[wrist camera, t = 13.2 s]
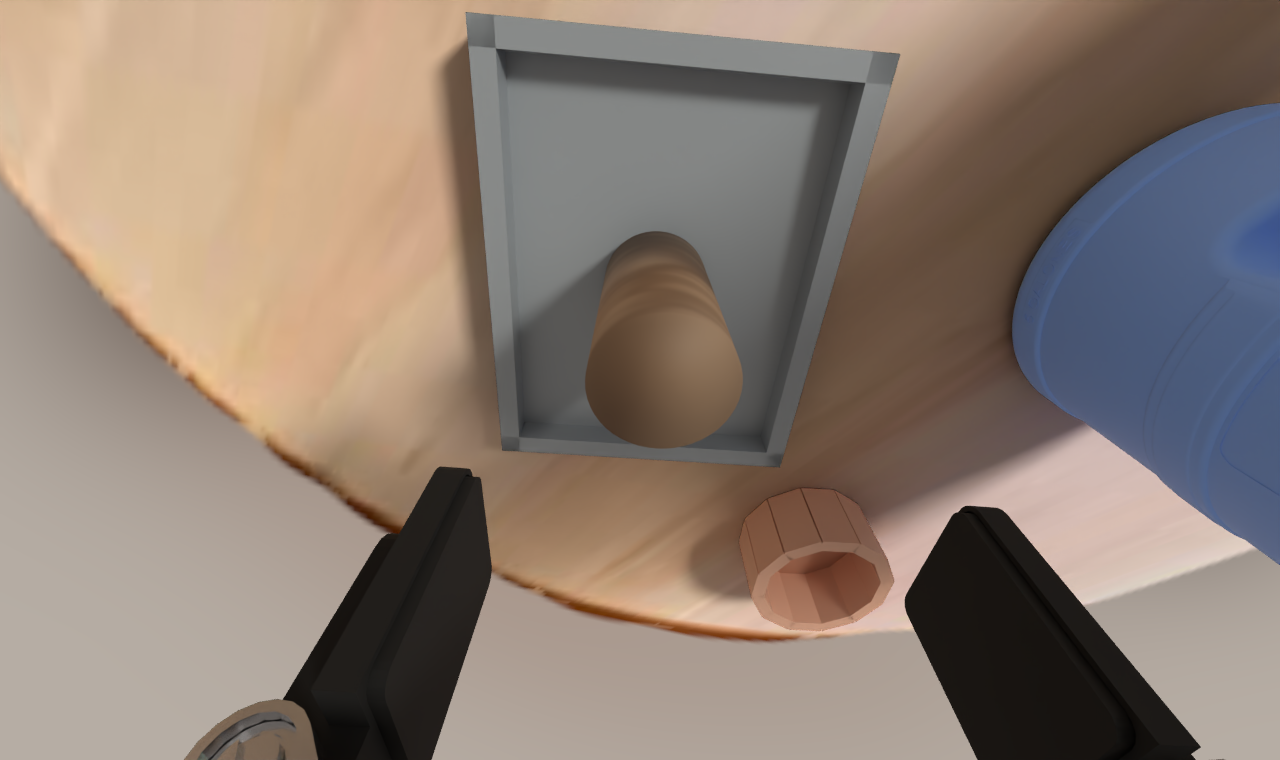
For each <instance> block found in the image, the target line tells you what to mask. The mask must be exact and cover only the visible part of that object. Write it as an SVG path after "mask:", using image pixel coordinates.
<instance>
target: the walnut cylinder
mask: <svg viewBox="0 0 1280 760" xmlns="http://www.w3.org/2000/svg"><path fill="white" fill-rule="evenodd" d="M742 385H743V373H742V367H741V363H740V360H739V357H738V355H737V352H736V349H735V347H734V344H733V341H732V339H731V336H730V333H729V331H728V328H727V325H726V323H725V320H724V318H723V315H722V312H721V310H720V307H719V304H718V302H717V299H716V296H715V294H714V291H713V288H712V286H711V283H710V280H709V278H708V275H707V273H706V270H705V267H704V265H703V262H702V260H701V258H700V256H699V254H698V253H697V251H696V250H695V249H694V248H693V246H692V245H691V244H689V243H688V242H687V241H686V240H684V239H683V238H681V237H679V236H677V235H674V234H671V233H668V232H662V231H651V232H644V233H641V234H638V235H635V236H633V237H631V238H629V239H628V240H626V241H625V242H624V243H622V244H621V245H620V246H619V247H618V248H617V249H616V251H615V252H614V253H613V255H612V257H611V258H610V260H609V263H608V265H607V269H606V273H605V278H604V283H603V288H602V293H601V298H600V303H599V308H598V313H597V318H596V323H595V328H594V333H593V339H592V344H591V349H590V354H589V359H588V364H587V369H586V375H585V391H586V395H587V400H588V402H589V405H590V407H591V409H592V411H593V413H594V415H595V416H596V417H597V419H598V420H599V421H600V423H601V424H602V425H603V426H604V427H605V428H606V429H608V430H609V431H610V432H611V433H613V434H614V435H616V436H617V437H619V438H621V439H623V440H625V441H627V442H629V443H632V444H635V445H638V446H643V447H647V448H656V449H667V448H677V447H682V446H686V445H689V444H692V443H695V442H697V441H700V440H702V439H704V438H706V437H707V436H709V435H711V434H712V433H713V432H715V431H716V430H718V429H719V428H720V427H721V426H722V425H723V424H724V423H725V422H726V421H727V420H728V418H729V417H730V416H731V414H732V413H733V411H734V410H735V408H736V406H737V404H738V401H739V399H740V395H741V392H742Z"/></svg>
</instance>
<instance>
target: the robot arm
mask: <svg viewBox="0 0 1280 760" xmlns="http://www.w3.org/2000/svg"><path fill="white" fill-rule="evenodd" d="M491 571H492V565H491V557H490V549H489V541H488V533H487V525H486V517H485V509H484V500H483V492H482V484H481V479H480V477H473V476H472V472H471V470H470V469H465V468H451V467H439V468H437V469H436V471H435V472H434V474H433V476H432V477H431V479H430V481H429V483H428V484H427V486H426V488H425V490H424V491H423V493H422V495H421V497H420V499H419V500H418V502H417V504H416V506H415V507H414V509H413V511H412V513H411V514H410V516H409V518H408V520H407V521H406V523H405V525H404V527H403V528H402V530H401V532H400V534H393V533H391V534H387V535H385V536H384V537H383V538H381V540H380V541H379V543H378V544H377V545H376V547H375V548H374V550H373V552H372V553H371V555H370V557H369V558H368V560H367V562H366V563H365V565H364V566H363V568H362V570H361V571H360V573H359V575H358V576H357V578H356V580H355V581H354V583H353V585H352V586H351V588H350V590H349V591H348V593H347V595H346V596H345V598H344V600H343V602H342V603H341V604H340V606H339V608H338V609H337V611H336V613H335V614H334V616H333V618H332V619H331V621H330V623H329V624H328V626H327V628H326V629H325V631H324V632H323V634H322V636H321V638H320V639H319V641H318V643H317V644H316V646H315V647H314V649H313V651H312V652H311V654H310V656H309V657H308V660H307V661H306V662H305V664H304V666H303V667H302V669H301V670H300V672H299V674H298V675H297V677H296V679H295V680H294V682H293V684H292V685H291V687H290V689H289V690H288V692H287V694H286V696H285V697H284V698H283V700H280V699H274V700H268V701H262V702H258V703H255V704H253V705H250V706H248V707H245V708H243V709H241V710H238V711H237V712H235V713H233V714H232V715H230V716H229V717H227V718H226V719H224V720H223V721H221V722H220V723H218V724H217V725H216V726H215V727H214V728H212V729H211V730H210V731H209V732H208V733H207V734H206V735H205V736H204V737H202V738H201V739H200V740H199V741H198V742H197V743H196V745H195V746H194V747H193V748H192V750H191V751H190V752H189V754H188V755H187V756H186V758H185V759H184V760H431V759H432V756H433V753H434V750H435V747H436V744H437V741H438V738H439V735H440V732H441V729H442V726H443V723H444V720H445V717H446V714H447V711H448V708H449V705H450V702H451V699H452V696H453V693H454V690H455V687H456V684H457V680H458V678H459V674H460V672H461V668H462V665H463V662H464V659H465V656H466V653H467V650H468V647H469V644H470V641H471V638H472V635H473V632H474V629H475V626H476V623H477V620H478V617H479V614H480V611H481V608H482V605H483V602H484V599H485V596H486V593H487V590H488V587H489V583H490V579H491ZM905 609H906V612H907V615H908V617H909V619H910V621H911V623H912V625H913V627H914V630H915V632H916V634H917V636H918V638H919V639H920V642H921V644H922V646H923V648H924V650H925V652H926V654H927V656H928V658H929V660H930V663H931V665H932V666H933V669H934V671H935V673H936V675H937V677H938V679H939V681H940V683H941V685H942V687H943V689H944V691H945V694H946V696H947V698H948V699H949V702H950V704H951V706H952V708H953V710H954V712H955V714H956V716H957V718H958V720H959V722H960V724H961V727H962V729H963V731H964V733H965V735H966V737H967V739H968V741H969V743H970V745H971V747H972V749H973V751H974V753H975V755H976V758H977V759H978V760H1195V758H1194V757H1193V756H1192V755H1191V754H1192V753H1193V752H1195V751H1196V750H1197V749H1199V748H1200V745H1199V744H1198V743H1197V742H1196V741H1195V739H1194V738H1193V737H1192V736H1191V735H1190V733H1189V732H1188V731H1187V730H1186V729H1185V727H1184V726H1183V725H1182V724H1181V723H1180V721H1179V720H1178V719H1177V718H1176V717H1175V715H1174V714H1173V713H1172V712H1171V711H1170V710H1169V708H1168V707H1167V706H1166V705H1165V703H1164V702H1163V701H1162V700H1161V699H1160V697H1159V696H1158V695H1157V694H1156V693H1155V692H1154V690H1153V689H1152V688H1151V687H1150V685H1149V684H1148V683H1147V682H1146V681H1145V679H1144V678H1143V677H1142V676H1141V675H1140V673H1139V672H1138V671H1137V670H1136V669H1135V667H1134V666H1133V665H1132V664H1131V663H1130V661H1129V660H1128V659H1127V658H1126V657H1125V655H1124V654H1123V653H1122V652H1121V651H1120V649H1119V648H1118V647H1117V646H1116V645H1115V643H1114V642H1113V641H1112V640H1111V639H1110V637H1109V636H1108V635H1107V634H1106V633H1105V632H1104V630H1103V629H1102V628H1101V627H1100V625H1099V624H1098V623H1097V622H1096V621H1095V619H1094V618H1093V617H1092V616H1091V615H1090V613H1089V612H1088V611H1087V610H1086V609H1085V607H1084V606H1083V605H1082V604H1081V603H1080V601H1079V600H1078V599H1077V598H1076V597H1075V595H1074V594H1073V593H1072V592H1071V591H1070V589H1069V588H1068V587H1067V586H1066V585H1065V583H1064V582H1063V581H1062V580H1061V579H1060V577H1059V576H1058V575H1057V574H1056V573H1055V571H1054V570H1053V569H1052V568H1051V567H1050V565H1049V564H1048V563H1047V562H1046V561H1045V559H1044V558H1043V557H1042V556H1041V555H1040V553H1039V552H1038V551H1037V550H1036V549H1035V547H1034V546H1033V545H1032V544H1031V543H1030V541H1029V540H1028V539H1027V538H1026V537H1025V535H1024V534H1023V533H1022V532H1021V531H1020V529H1019V528H1018V527H1017V526H1016V525H1015V523H1014V522H1013V521H1012V520H1011V519H1010V517H1009V516H1008V515H1007V514H1006V513H1005V512H1004V511H1003V510H1001V509H999V508H991V507H978V506H965V507H963V508H961V510H960V511H959V512H958V513H955V514H953V516H952V517H951V518H950V520H949V522H948V524H947V525H946V527H945V529H944V530H943V532H942V534H941V536H940V537H939V539H938V541H937V542H936V544H935V546H934V548H933V549H932V551H931V553H930V555H929V556H928V558H927V560H926V561H925V563H924V565H923V567H922V568H921V570H920V572H919V573H918V575H917V577H916V579H915V580H914V582H913V584H912V586H911V587H910V589H909V591H908V592H907V594H906V597H905ZM1218 760H1224V759H1218Z"/></svg>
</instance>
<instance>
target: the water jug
mask: <svg viewBox="0 0 1280 760" xmlns="http://www.w3.org/2000/svg"><path fill="white" fill-rule="evenodd" d="M1012 339H1013V346H1014V351H1015V355H1016V358H1017V361H1018V364H1019V366H1020V368H1021V370H1022V372H1023V374H1024V375H1025V377H1026V378H1027V380H1028V381H1029V382H1030V383H1031V385H1032V386H1033V387H1034V388H1035V389H1036V390H1037V391H1038V392H1039V393H1041V394H1042V395H1043V396H1044V397H1046V398H1047V399H1048V400H1050V401H1051V402H1052V403H1054V404H1055V405H1057V406H1058V407H1059V408H1061V409H1062V410H1063V411H1065V412H1066V413H1068V414H1070V415H1072V416H1073V417H1075V418H1078V419H1080V420H1082V421H1084V422H1085V423H1086V424H1088V425H1089V426H1090V427H1092V428H1093V429H1094V430H1096V431H1097V432H1099V433H1100V434H1101V435H1103V436H1104V437H1105V438H1107V439H1108V440H1110V441H1111V442H1112V443H1114V444H1115V445H1116V446H1118V447H1119V448H1120V449H1122V450H1123V451H1125V452H1126V453H1127V454H1129V455H1130V456H1131V457H1133V458H1134V459H1135V460H1137V461H1138V462H1140V463H1141V464H1142V465H1144V466H1145V467H1146V468H1148V469H1149V470H1151V471H1152V472H1153V473H1155V474H1156V475H1157V476H1158V477H1159V478H1160V479H1161V481H1162V482H1163V483H1164V484H1165V485H1167V486H1168V487H1169V488H1170V489H1171V490H1173V491H1174V492H1175V493H1176V494H1177V495H1178V496H1179V497H1181V498H1182V499H1183V500H1185V501H1186V502H1187V503H1189V504H1190V505H1192V506H1193V507H1194V508H1196V509H1197V510H1198V511H1200V512H1201V513H1202V514H1204V515H1205V516H1206V517H1208V518H1209V519H1210V520H1212V521H1213V522H1215V523H1216V524H1218V525H1220V526H1222V527H1223V528H1224V529H1226V530H1227V531H1229V532H1231V533H1232V534H1234V535H1236V536H1238V537H1240V538H1242V539H1245V540H1246V541H1248V542H1249V543H1250V544H1252V545H1253V546H1254V547H1256V548H1257V549H1258V550H1260V551H1261V552H1263V553H1264V554H1265V555H1267V556H1268V557H1270V558H1271V559H1272V560H1274V561H1275V562H1276V563H1278V564H1279V565H1280V103H1273V104H1264V105H1257V106H1252V107H1247V108H1242V109H1238V110H1234V111H1230V112H1226V113H1223V114H1220V115H1216V116H1213V117H1210V118H1208V119H1205V120H1202V121H1199V122H1197V123H1194V124H1192V125H1190V126H1187V127H1185V128H1183V129H1180V130H1178V131H1176V132H1174V133H1172V134H1170V135H1168V136H1166V137H1164V138H1162V139H1160V140H1159V141H1157V142H1155V143H1153V144H1151V145H1150V146H1148V147H1146V148H1145V149H1143V150H1141V151H1140V152H1138V153H1137V154H1135V155H1134V156H1132V157H1131V158H1129V159H1128V160H1126V161H1125V162H1123V163H1122V164H1121V165H1119V166H1118V167H1116V168H1115V169H1114V170H1112V171H1111V172H1110V173H1109V174H1107V175H1106V176H1105V177H1104V178H1102V179H1101V180H1100V181H1099V182H1098V183H1096V184H1095V185H1094V186H1093V187H1092V188H1091V189H1090V190H1089V191H1088V192H1086V193H1085V194H1084V195H1083V196H1082V197H1081V198H1080V199H1079V200H1078V201H1077V202H1076V203H1075V204H1074V205H1073V206H1072V207H1071V209H1070V210H1069V211H1068V212H1067V213H1066V214H1065V215H1064V216H1063V217H1062V219H1061V220H1060V221H1059V222H1058V223H1057V225H1056V226H1055V227H1054V229H1053V230H1052V231H1051V232H1050V234H1049V235H1048V237H1047V238H1046V239H1045V241H1044V242H1043V244H1042V245H1041V247H1040V248H1039V250H1038V252H1037V253H1036V255H1035V257H1034V259H1033V260H1032V262H1031V264H1030V266H1029V268H1028V270H1027V272H1026V274H1025V277H1024V279H1023V281H1022V284H1021V287H1020V289H1019V292H1018V296H1017V299H1016V303H1015V308H1014V313H1013V322H1012Z"/></svg>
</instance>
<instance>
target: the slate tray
mask: <svg viewBox="0 0 1280 760" xmlns="http://www.w3.org/2000/svg"><path fill="white" fill-rule="evenodd" d="M466 24H467V36H468V48H469V60H470V72H471V84H472V95H473V107H474V119H475V131H476V143H477V155H478V167H479V179H480V191H481V203H482V215H483V227H484V239H485V251H486V263H487V275H488V287H489V299H490V310H491V322H492V334H493V346H494V358H495V370H496V382H497V394H498V406H499V418H500V430H501V442H502V450H504V451H521V452H537V453H553V454H570V455H586V456H602V457H619V458H635V459H651V460H668V461H684V462H700V463H717V464H733V465H749V466H766V467H780V465H781V462H782V459H783V455H784V452H785V448H786V445H787V441H788V438H789V435H790V431H791V428H792V424H793V421H794V417H795V414H796V411H797V407H798V404H799V400H800V397H801V393H802V390H803V387H804V383H805V380H806V376H807V373H808V369H809V366H810V363H811V359H812V356H813V352H814V349H815V345H816V342H817V338H818V335H819V332H820V328H821V325H822V321H823V318H824V314H825V311H826V308H827V304H828V301H829V297H830V294H831V290H832V287H833V284H834V280H835V277H836V273H837V270H838V266H839V263H840V260H841V256H842V253H843V249H844V246H845V242H846V239H847V236H848V232H849V229H850V225H851V222H852V218H853V215H854V211H855V208H856V205H857V201H858V198H859V194H860V191H861V187H862V184H863V181H864V177H865V174H866V170H867V167H868V163H869V160H870V157H871V153H872V150H873V146H874V143H875V139H876V136H877V133H878V129H879V126H880V122H881V119H882V115H883V112H884V108H885V105H886V102H887V98H888V95H889V91H890V88H891V84H892V81H893V78H894V74H895V71H896V67H897V64H898V60H899V57H900V54H896V53H886V52H875V51H865V50H855V49H844V48H834V47H823V46H813V45H803V44H792V43H782V42H771V41H761V40H751V39H740V38H730V37H719V36H709V35H699V34H688V33H678V32H667V31H657V30H647V29H636V28H626V27H615V26H605V25H595V24H584V23H574V22H563V21H553V20H543V19H532V18H522V17H511V16H501V15H491V14H480V13H470V12H466ZM651 231H662V232H668V233H671V234H674V235H677V236H679V237H681V238H683V239H684V240H686V241H687V242H688V243H689V244H691V245H692V246H693V248H694V249H695V250H696V251H697V253H698V254H699V256H700V258H701V260H702V262H703V265H704V267H705V270H706V273H707V275H708V278H709V280H710V283H711V286H712V288H713V291H714V294H715V296H716V299H717V302H718V304H719V307H720V310H721V312H722V315H723V318H724V320H725V323H726V325H727V328H728V331H729V333H730V336H731V339H732V341H733V344H734V347H735V349H736V352H737V355H738V357H739V360H740V363H741V367H742V373H743V385H742V392H741V395H740V399H739V401H738V404H737V406H736V408H735V410H734V411H733V413H732V414H731V416H730V417H729V418H728V420H727V421H726V422H725V423H724V424H723V425H722V426H721V427H720V428H719V429H718V430H716V431H715V432H713V433H712V434H711V435H709V436H707V437H706V438H704V439H702V440H700V441H697V442H695V443H692V444H689V445H686V446H682V447H677V448H667V449H656V448H647V447H643V446H638V445H635V444H632V443H629V442H627V441H625V440H623V439H621V438H619V437H617V436H616V435H614V434H613V433H611V432H610V431H609V430H608V429H606V428H605V427H604V426H603V425H602V424H601V423H600V421H599V420H598V419H597V417H596V416H595V415H594V413H593V411H592V409H591V407H590V405H589V402H588V400H587V395H586V391H585V375H586V369H587V364H588V359H589V354H590V349H591V344H592V339H593V333H594V328H595V323H596V318H597V313H598V308H599V303H600V298H601V293H602V288H603V283H604V278H605V273H606V269H607V265H608V263H609V260H610V258H611V257H612V255H613V253H614V252H615V251H616V249H617V248H618V247H619V246H620V245H621V244H622V243H624V242H625V241H626V240H628V239H629V238H631V237H633V236H635V235H638V234H641V233H644V232H651Z"/></svg>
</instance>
